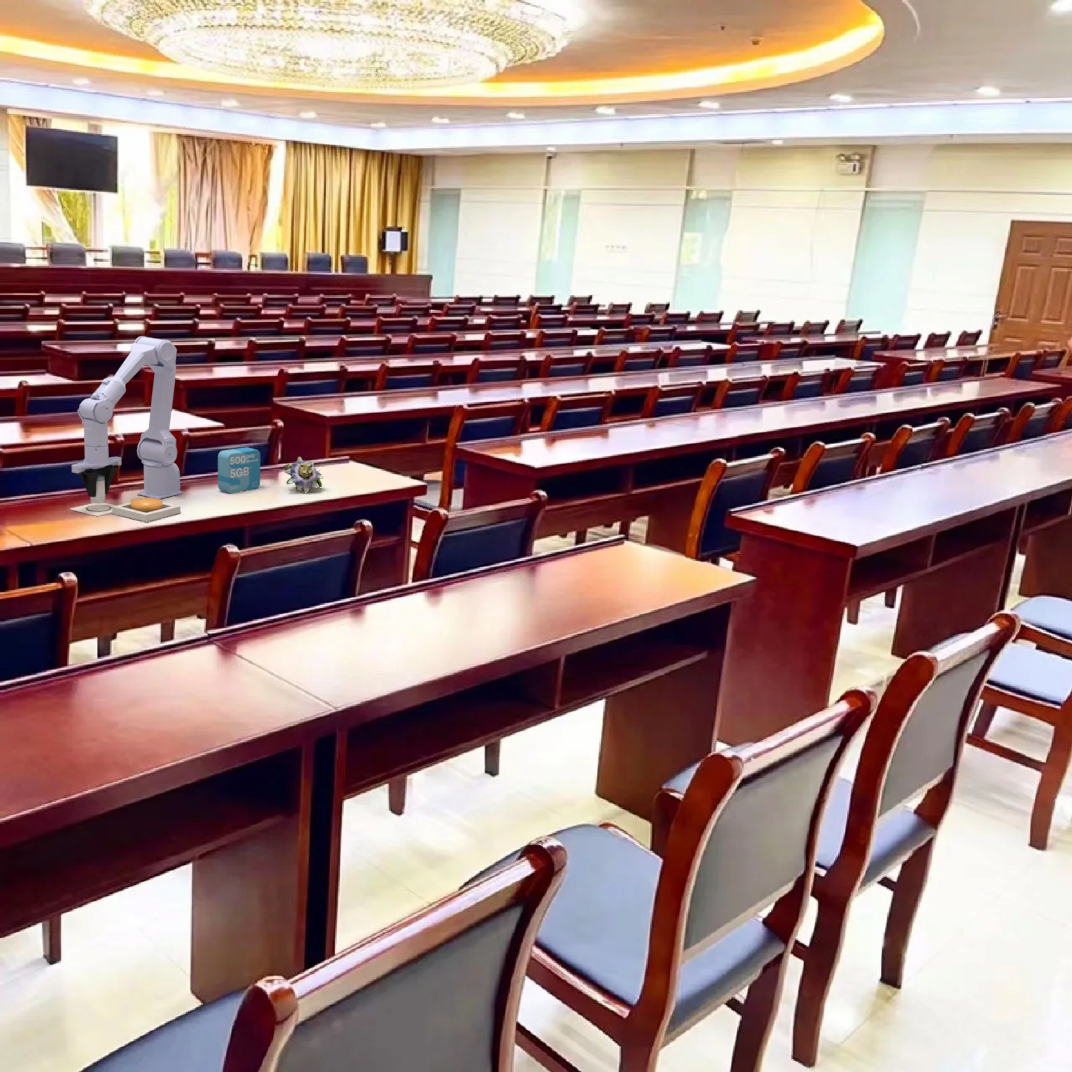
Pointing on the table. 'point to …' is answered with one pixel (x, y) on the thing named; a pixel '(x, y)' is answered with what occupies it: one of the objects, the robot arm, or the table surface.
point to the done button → (146, 504)
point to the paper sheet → (95, 509)
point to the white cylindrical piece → (99, 490)
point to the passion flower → (303, 475)
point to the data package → (238, 470)
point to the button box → (145, 512)
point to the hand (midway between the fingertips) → (98, 495)
